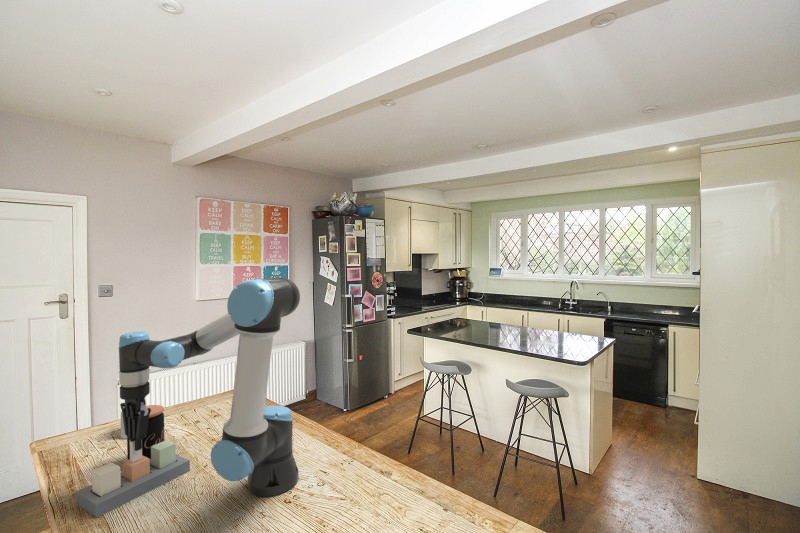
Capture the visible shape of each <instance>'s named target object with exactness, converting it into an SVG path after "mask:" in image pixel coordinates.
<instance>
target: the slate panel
mask: <svg viewBox="0 0 800 533" xmlns="http://www.w3.org/2000/svg"><path fill="white" fill-rule="evenodd" d="M190 468H191V465H190V459H187V458H185V457H183V456H181V455H179V454H176V462H174V463H172V464H170V465H168V466H165V467H163V468H161V469H159V468H157V467H155V466H153V465H151V459H150V474H149V475H147V476H144V477H142V478H140V479H138V480H136V481H134V482H132V483H131V482H129V481H127V480H125V479H124V478H123V470H122V471H120V473H121V487H120V488H118V489H116V490H114V491H112V492H110V493H107V494H105V495H103V496H101V497H100V496H99V495H97V494H96V493H94V492H92V484H90V485H87V486H86V487H83V488H81V489H79V490H77V491H75V505H77V506H78V507H80V508H82V509H83V510H84V511H86V512H87V511H88V513H89V514H91V516H94V517H95V518H99V517H101V516H103V515H105V514H107V513H109V512H110V511H112V510H114V509H117V508H118V507H121V506H123V505H124V504H126V503H129V502H131V501H132V500H135V499H136V498H138V497H140V496H142V495H145V494H147V493H148V492H151V491H152V490H154V489H156V488H159V487H160V486H162V485H164V484H166V483H169V482H170V481H173V480H174V479H176V478H179V477H181V476H182V475H184V474H186V473H188V472H190V470H191V469H190Z"/></svg>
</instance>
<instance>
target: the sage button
mask: <svg viewBox="0 0 800 533" xmlns="http://www.w3.org/2000/svg"><path fill="white" fill-rule="evenodd" d="M176 449H177V448H176V443H175V442H173V441H170V440H167V439H165V441H163V442H161V443H158V444H156V445H153V446H151V465H153V466H155V467H157V468H159V469H161V468H163V467H165V466H168V465H170V464H172V463H174V462H176V455H177V453H176V452H177V451H176Z"/></svg>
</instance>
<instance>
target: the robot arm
mask: <svg viewBox="0 0 800 533" xmlns="http://www.w3.org/2000/svg"><path fill="white" fill-rule="evenodd" d="M300 301H301V294H300V290H299V288H298V286H297V284H296V283H295V282H293V280H291V279H288V278H286V277H283V276H282V277H281V276H280V277H279V276H277V277H269V278H267V277H266V278H253V279H249V280H245V281H242V282H240V283H239V284H237V285H236V286H234V287H233V289H232V290H231V292H230V294H229V296H228V298H227V303H226V304H227V305H226V308H227V313H226V314H225V315H223V316H221V317H218V318H217V319H215V320H214V321H211V322H210V323H208V324H206V325H204V326H202V327H200V328H199V329H196V330H194V331H193V332H190V333H188V334H185V335H181V336H177V337H172V338H169V339H164V340H152V339H151V340H150V334H149V332H146V331H130V332H126V333H123V334H121V335H120V337H119V342H118V359H119V360H118V362H119V371H118V374H119V376H118V378H119V379H118V380H119V382H118V383H119V385H120V386H119V398H120V399H121V400H124V402H121V403H120V404H119V406H120V409H121V411H122V415H123V422H124V430H125V435H126V436H127V435H128V438H129V439H130V461H131V462H134V461H137V460H139V459H141V458H142V438H145V437H146V436H147V428H148V420H149V414H150V412H151V409H150V408H148V409H147V408H146V407H145V406H147V405H146V399H145V398H146V397H147V396H148V395H149V394H150V393H151V392H150V390H151V389H150V388H151V387H150V372H151V369H150V367H152V368H159V369H173V368H176V367H178V366H179V365H180V364H181V363H182V361H184V360H188V359H190V358H194V357H197V356H201V355H205V354H207V353H209V352H211V351H212V350H213V349H214V348H215V347H217V346H219V345H221V344H223V343H225V342H227V341H229V340H230V339H233V338H235V337H237V336H239V337H238V347H237V357H236V364H235V374H234V382H233V392H232V402H231V410H230V418H228V420H226V421H225V422H224V423H223V427H222V433H221V434H222V436H221V440H218V441H216V443H215V444H214V446H213V447H212V448H211V450H210V462H211V465H212V467H213V469H214V470H215V472H216V473H217V474H218V475H219V476H220V477H221V478H223V479H224V480H227V481H229V482H239V481H241V480H243V479H245V478H246V477H247V481H246V482H247V490H248V492H249V493H250V494H252V495H254V496H258V497H271V496H272V497H273V496H279V495H280V494H284V493H286V492H288V491H290V490H291V489H292V488H294V487H295V486H296V485H297V483H298V482H299V477H300V475H299V468H298V465H297V462H296V460H295V457H294V454H293V421H294V420H293V412H292V410H291V409H290V408H289V407H287V406H283V405H266V400H267V392H268V391H267V390H268V384H269V377H270V376H269V374H270V367H271V360H272V358H271V357H272V348H273V341H274V336H275V334H277V333H279V331H281V322H282V318H284V317H287V316H289V315H291V314H292V313H294V312H295V311H296V310H297V308H298V306H299V304H300Z"/></svg>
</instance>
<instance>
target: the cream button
mask: <svg viewBox="0 0 800 533" xmlns="http://www.w3.org/2000/svg"><path fill="white" fill-rule="evenodd" d="M120 472H121V467H120V465H117V464H116V463H113V462H110V463H107V464H105V465H102V466H100V467H97V468H95V469H92V470H91V485H92V492H94V493H96V494H97V495H99V496H100V497H101V496H103V495H105V494H107V493H110V492H112V491H114V490H116V489H118V488H120V487H121V473H120Z"/></svg>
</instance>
